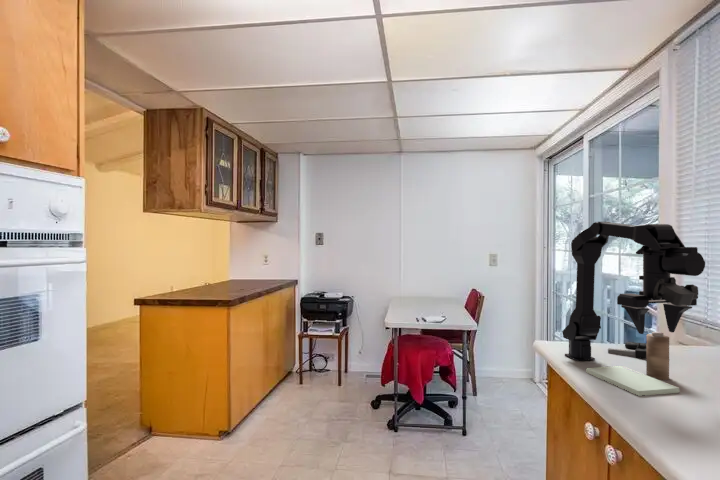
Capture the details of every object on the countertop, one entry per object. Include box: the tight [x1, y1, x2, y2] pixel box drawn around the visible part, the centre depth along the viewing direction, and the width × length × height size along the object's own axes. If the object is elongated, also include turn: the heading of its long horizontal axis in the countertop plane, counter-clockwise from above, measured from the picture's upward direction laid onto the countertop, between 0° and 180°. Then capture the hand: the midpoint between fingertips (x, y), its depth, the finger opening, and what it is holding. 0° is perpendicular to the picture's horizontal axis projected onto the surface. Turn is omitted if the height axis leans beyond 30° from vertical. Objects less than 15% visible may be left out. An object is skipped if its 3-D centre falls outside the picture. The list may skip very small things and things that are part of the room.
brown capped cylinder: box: [645, 331, 670, 381], centre depth 116 cm, size 5×5×12 cm
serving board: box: [585, 365, 680, 397], centre depth 112 cm, size 18×12×1 cm, turn 10°
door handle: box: [607, 341, 647, 360], centre depth 138 cm, size 3×20×16 cm
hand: (656, 332), depth 106 cm, fingers open, 9 cm apart
